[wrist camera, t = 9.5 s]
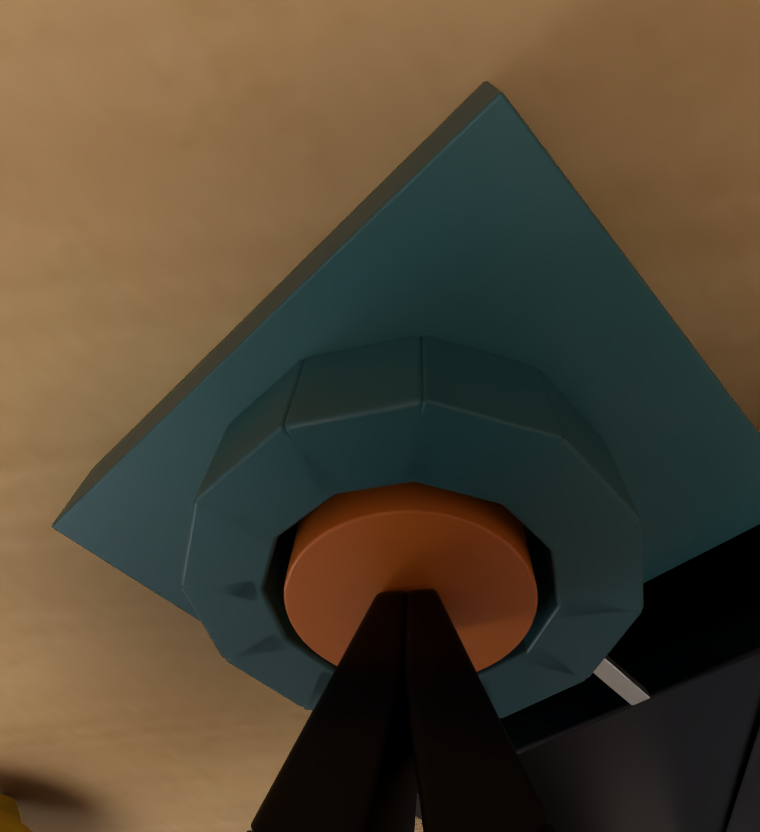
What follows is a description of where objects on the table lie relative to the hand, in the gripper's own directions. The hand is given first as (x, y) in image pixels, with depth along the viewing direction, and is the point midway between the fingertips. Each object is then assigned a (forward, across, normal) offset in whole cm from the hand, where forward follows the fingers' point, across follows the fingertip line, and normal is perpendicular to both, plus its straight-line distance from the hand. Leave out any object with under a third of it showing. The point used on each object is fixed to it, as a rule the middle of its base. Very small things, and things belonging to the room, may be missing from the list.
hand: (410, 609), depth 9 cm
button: (+2, 0, 0) cm, 2 cm away
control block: (+4, 0, 0) cm, 4 cm away
